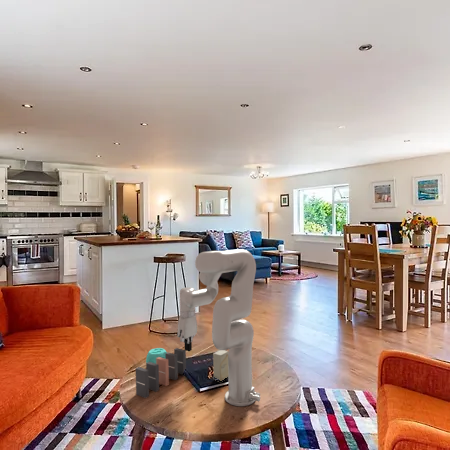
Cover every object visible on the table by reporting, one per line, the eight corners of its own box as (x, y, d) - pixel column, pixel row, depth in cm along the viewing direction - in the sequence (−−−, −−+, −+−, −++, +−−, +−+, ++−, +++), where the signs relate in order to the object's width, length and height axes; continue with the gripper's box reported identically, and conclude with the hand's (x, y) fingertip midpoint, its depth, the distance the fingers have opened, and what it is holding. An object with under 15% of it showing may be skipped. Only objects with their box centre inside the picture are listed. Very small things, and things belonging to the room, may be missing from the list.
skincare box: (220, 382, 152) (220, 355, 152) (213, 380, 155) (212, 353, 155) (229, 377, 157) (228, 351, 157) (221, 374, 160) (221, 348, 160)
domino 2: (149, 386, 150) (149, 361, 150) (159, 389, 147) (158, 364, 147) (146, 388, 148) (146, 363, 148) (156, 391, 145) (155, 366, 145)
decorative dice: (146, 369, 167) (145, 353, 167) (154, 362, 175) (153, 347, 174) (160, 371, 165) (160, 355, 164) (168, 364, 172) (168, 348, 172)
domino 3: (159, 380, 155) (159, 356, 155) (168, 384, 152) (168, 359, 152) (156, 382, 153) (156, 358, 153) (166, 385, 150) (165, 361, 150)
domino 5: (177, 370, 165) (176, 347, 165) (186, 373, 162) (185, 350, 162) (174, 372, 164) (174, 349, 163) (183, 374, 160) (183, 351, 160)
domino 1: (139, 392, 145) (138, 366, 145) (149, 396, 142) (148, 369, 142) (136, 394, 143) (135, 368, 143) (145, 398, 140) (145, 371, 140)
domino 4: (168, 375, 160) (168, 352, 160) (177, 378, 157) (177, 354, 157) (165, 377, 158) (165, 353, 158) (175, 380, 155) (174, 356, 155)
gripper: (191, 308, 176) (191, 343, 177) (171, 316, 163) (172, 354, 164) (203, 310, 172) (203, 346, 173) (183, 318, 159) (184, 357, 160)
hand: (188, 350), depth 168 cm, fingers closed
